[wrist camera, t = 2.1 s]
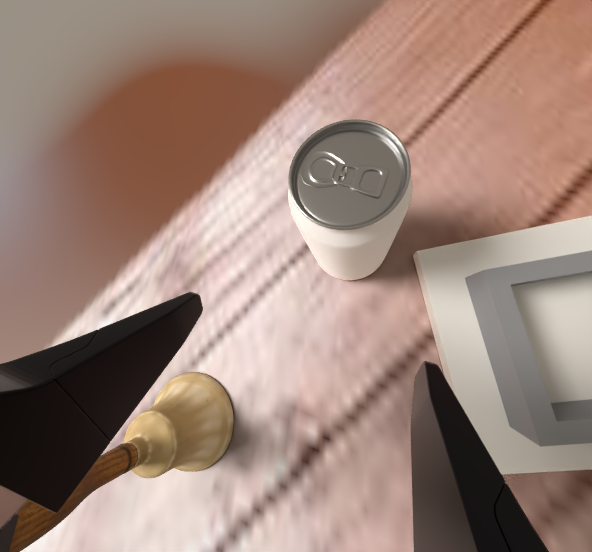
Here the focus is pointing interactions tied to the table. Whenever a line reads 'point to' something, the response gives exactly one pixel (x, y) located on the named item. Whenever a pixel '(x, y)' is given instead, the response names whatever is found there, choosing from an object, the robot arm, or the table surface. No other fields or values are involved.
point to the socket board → (518, 340)
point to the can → (350, 195)
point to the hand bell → (150, 447)
